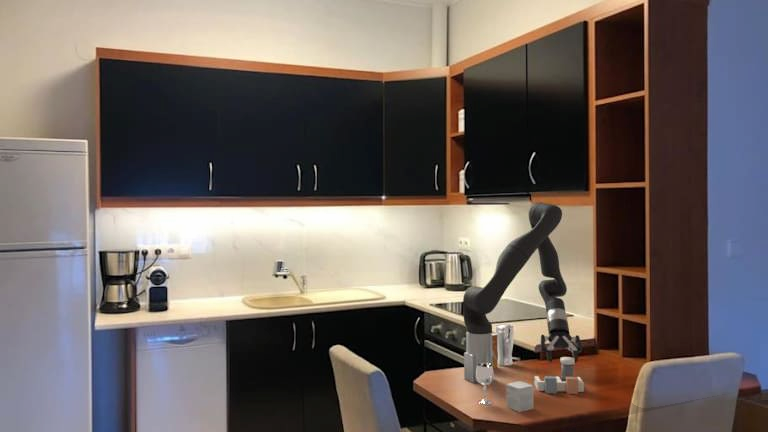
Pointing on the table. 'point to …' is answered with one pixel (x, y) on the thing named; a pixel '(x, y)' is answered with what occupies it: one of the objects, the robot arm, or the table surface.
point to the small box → (494, 350)
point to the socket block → (559, 384)
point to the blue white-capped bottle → (567, 367)
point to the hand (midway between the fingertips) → (563, 361)
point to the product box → (520, 396)
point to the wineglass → (484, 378)
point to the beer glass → (505, 344)
